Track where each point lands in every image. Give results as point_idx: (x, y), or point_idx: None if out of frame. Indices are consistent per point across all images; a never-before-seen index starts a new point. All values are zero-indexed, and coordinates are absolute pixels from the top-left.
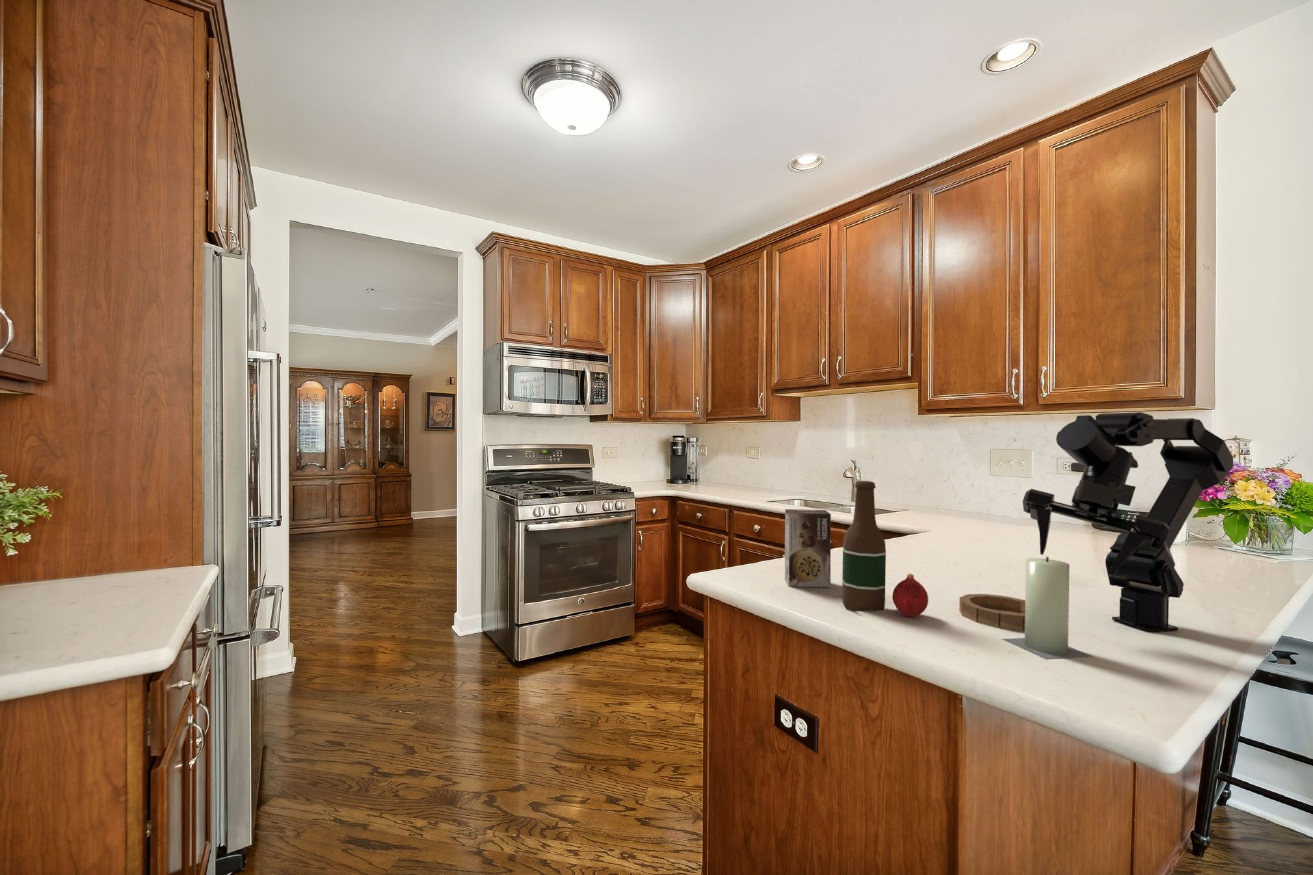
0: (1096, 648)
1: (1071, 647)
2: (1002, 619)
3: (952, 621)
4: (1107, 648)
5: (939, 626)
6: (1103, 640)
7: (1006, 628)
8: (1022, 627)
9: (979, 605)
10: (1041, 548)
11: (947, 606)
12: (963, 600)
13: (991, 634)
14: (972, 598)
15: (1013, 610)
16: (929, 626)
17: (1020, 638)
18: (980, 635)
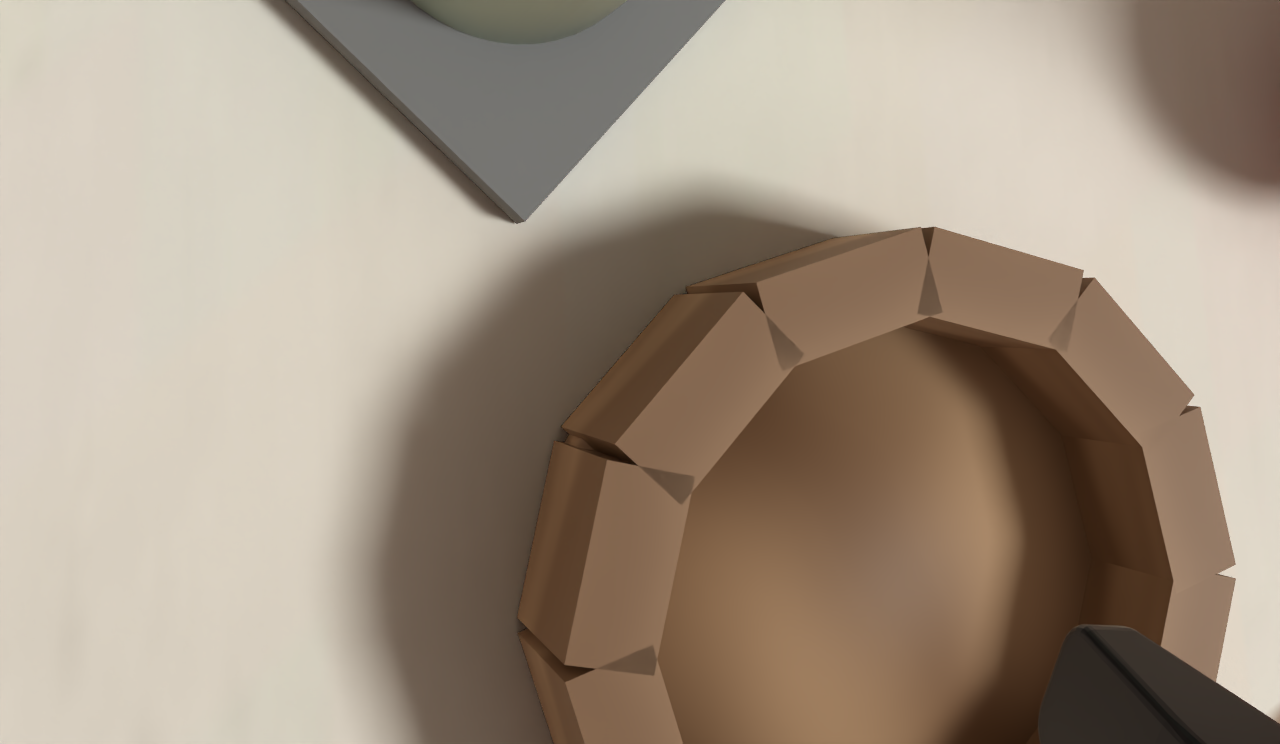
0: (119, 297)
1: (320, 20)
2: (878, 235)
3: (1132, 277)
4: (25, 373)
5: (1182, 68)
6: (59, 639)
7: (810, 250)
8: (712, 285)
9: None
10: (1178, 666)
11: None
12: (1201, 484)
13: (878, 112)
14: None
15: None
16: (1231, 19)
17: (697, 17)
18: (938, 25)
